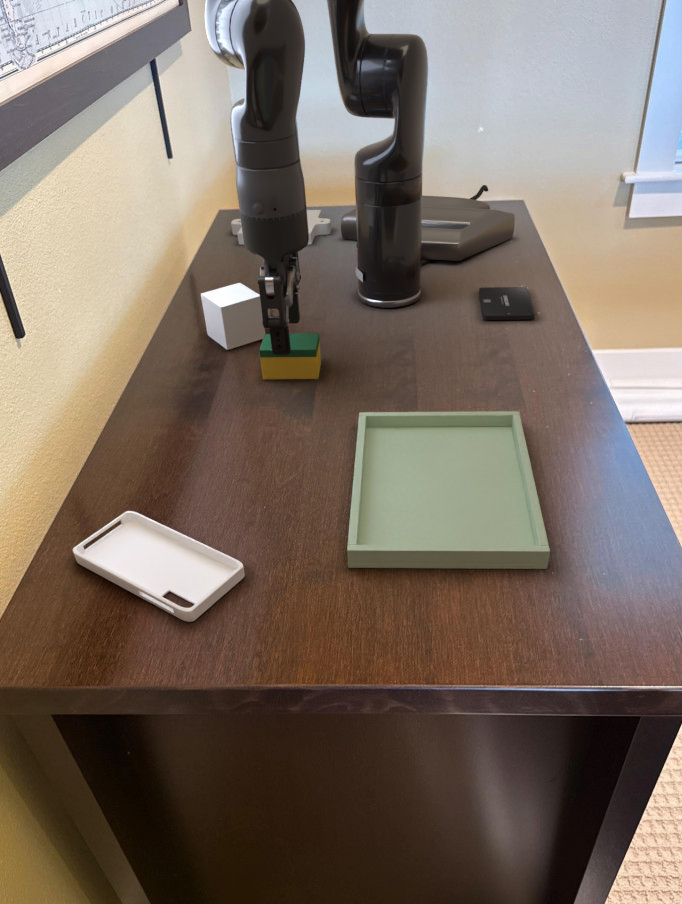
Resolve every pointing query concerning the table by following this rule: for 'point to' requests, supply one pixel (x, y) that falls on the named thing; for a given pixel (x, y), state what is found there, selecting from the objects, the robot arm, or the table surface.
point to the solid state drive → (506, 303)
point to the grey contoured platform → (452, 227)
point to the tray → (444, 493)
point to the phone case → (160, 564)
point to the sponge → (292, 358)
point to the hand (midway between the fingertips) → (286, 337)
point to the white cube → (233, 315)
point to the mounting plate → (315, 226)
